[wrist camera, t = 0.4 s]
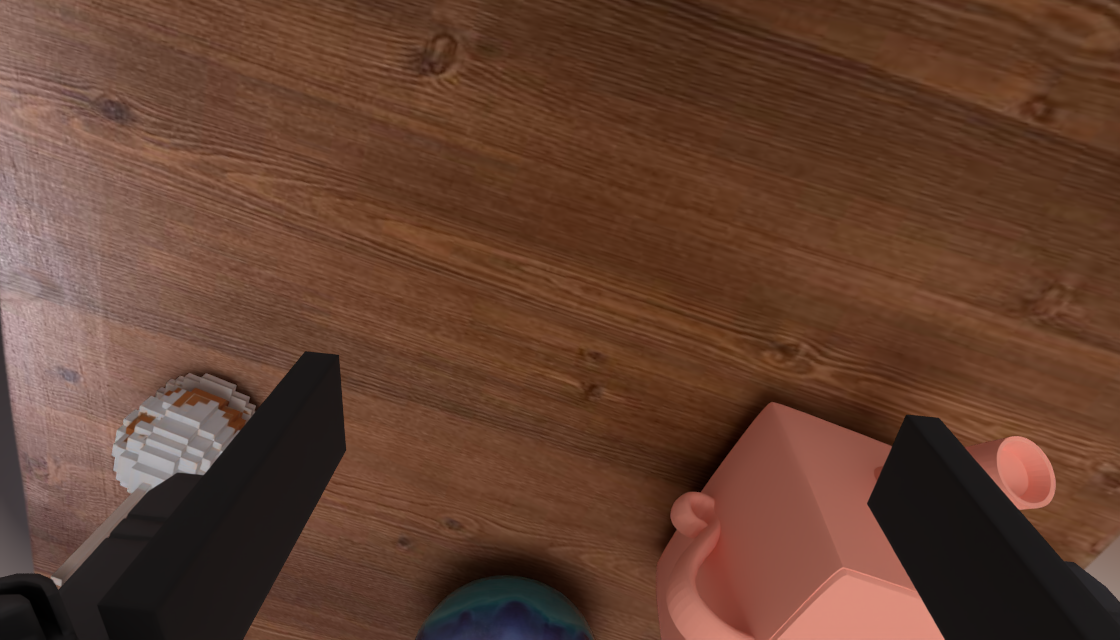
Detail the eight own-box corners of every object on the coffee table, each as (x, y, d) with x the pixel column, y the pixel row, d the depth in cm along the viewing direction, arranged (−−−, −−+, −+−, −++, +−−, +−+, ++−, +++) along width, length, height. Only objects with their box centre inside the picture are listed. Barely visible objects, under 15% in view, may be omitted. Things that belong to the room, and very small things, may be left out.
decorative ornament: (172, 353, 43) (-19, 506, 30) (278, 395, 44) (139, 561, 31) (156, 431, 47) (-22, 600, 33) (255, 469, 48) (121, 646, 34)
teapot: (768, 270, 38) (890, 458, 22) (1066, 395, 41) (1367, 641, 25) (605, 535, 49) (607, 788, 33) (848, 619, 52) (959, 890, 36)
